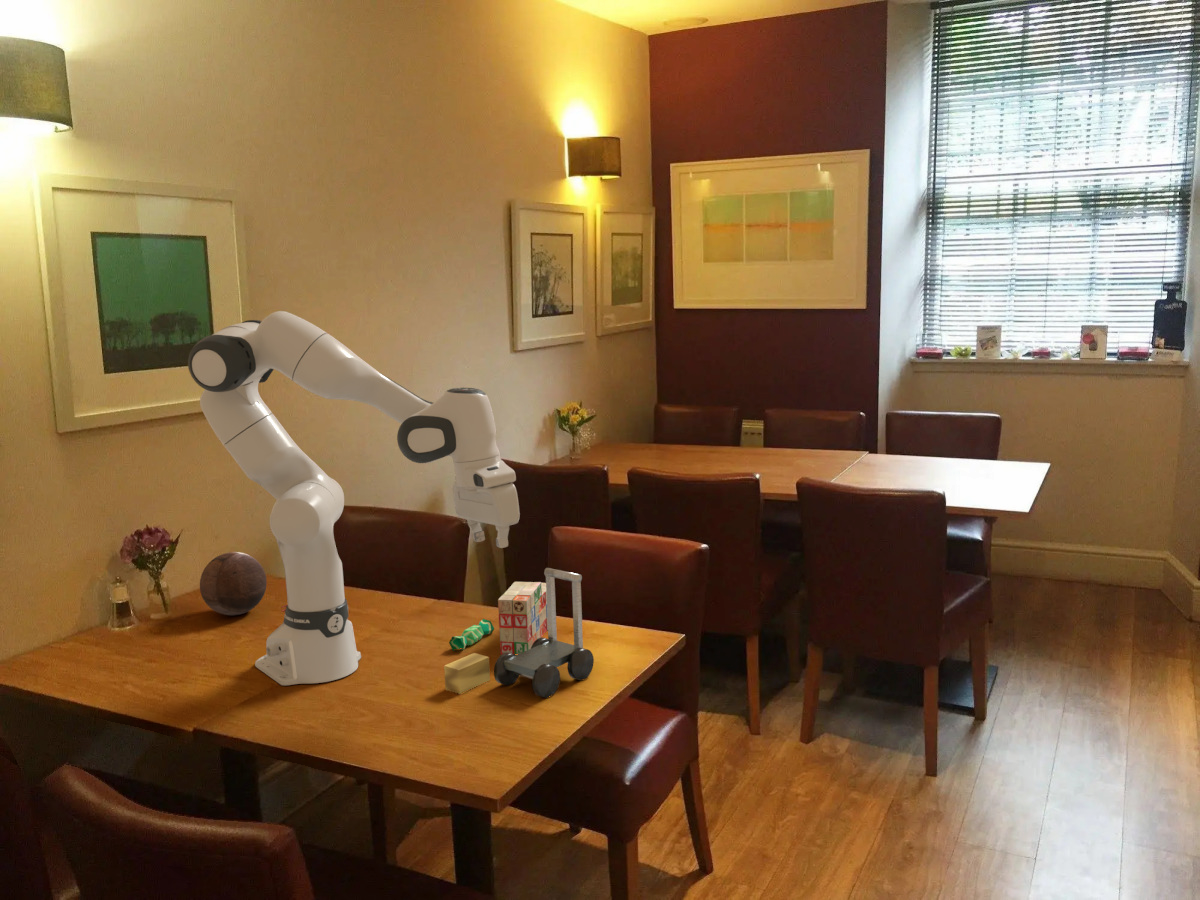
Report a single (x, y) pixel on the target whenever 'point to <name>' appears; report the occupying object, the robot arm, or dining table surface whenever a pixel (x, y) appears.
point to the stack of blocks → (522, 616)
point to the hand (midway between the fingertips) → (491, 544)
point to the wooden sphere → (233, 583)
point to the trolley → (550, 647)
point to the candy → (472, 634)
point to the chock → (467, 673)
